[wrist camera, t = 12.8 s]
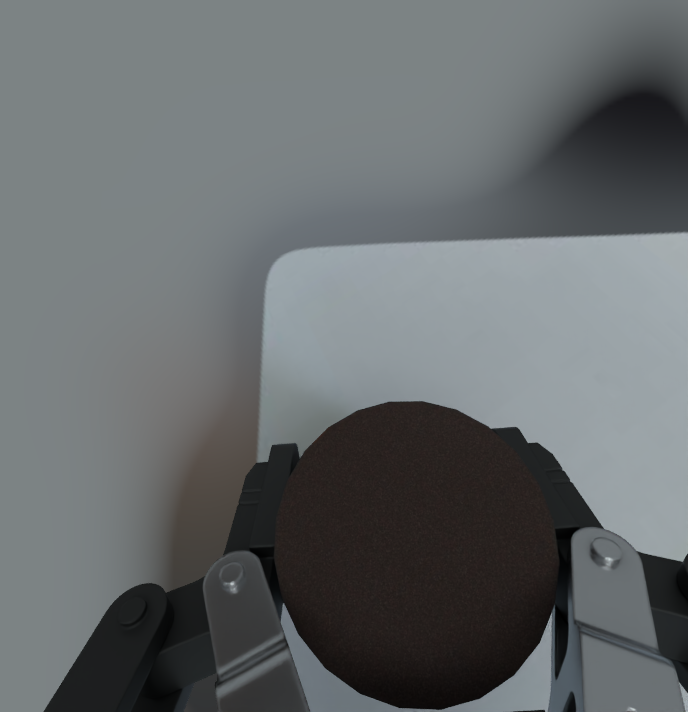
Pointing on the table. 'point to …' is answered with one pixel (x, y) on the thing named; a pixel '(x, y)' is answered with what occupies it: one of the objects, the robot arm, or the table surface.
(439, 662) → the deodorant
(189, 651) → the robot arm
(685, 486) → the table surface
